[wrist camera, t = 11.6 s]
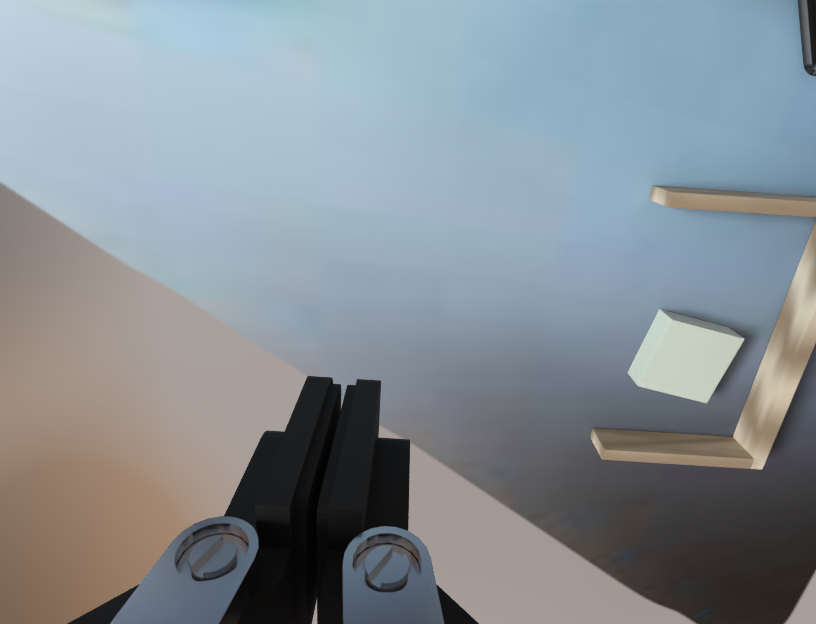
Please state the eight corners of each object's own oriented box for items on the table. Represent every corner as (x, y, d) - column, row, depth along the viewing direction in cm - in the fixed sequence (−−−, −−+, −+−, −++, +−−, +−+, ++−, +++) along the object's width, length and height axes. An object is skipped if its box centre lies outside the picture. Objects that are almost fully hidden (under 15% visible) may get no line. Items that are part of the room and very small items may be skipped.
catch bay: (652, 185, 35) (672, 192, 33) (838, 198, 36) (873, 205, 33) (590, 437, 44) (601, 459, 41) (740, 446, 44) (762, 469, 41)
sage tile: (657, 307, 39) (672, 319, 37) (725, 325, 40) (744, 339, 38) (625, 370, 42) (638, 386, 39) (690, 386, 42) (706, 403, 40)
